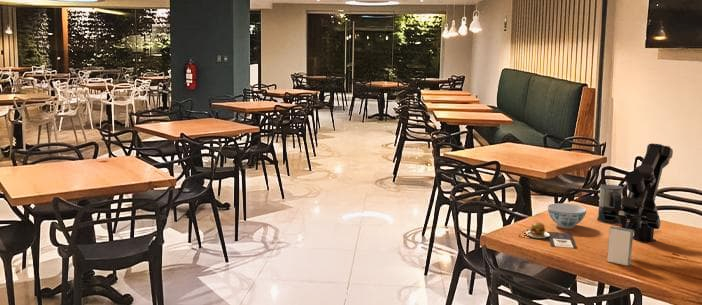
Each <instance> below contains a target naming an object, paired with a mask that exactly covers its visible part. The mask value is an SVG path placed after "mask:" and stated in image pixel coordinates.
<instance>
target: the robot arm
mask: <svg viewBox="0 0 702 305" xmlns="http://www.w3.org/2000/svg"><path fill="white" fill-rule="evenodd" d="M673 152H674V150H673V148H671V146H669V145H663V144H662V143H661V144H660V143H648V145H647V146H646V152H645V156H644V157H643V158H642V162H641V164H639V165H638V166H635V168H633V170H632V171H629V172H628V173H626V175H625V177H624V178H625V184H626V188H627V191H629V192H628V194H627V196H623V195H622V201H621V211H619V212H616V211H615V207H609V206H604V207H602V210H601V213H602V217H603V219H604V220H607V221H614V220H615V219H616V217H617V218H618V222H619V223H618V225H620V226H621V228H626V229H631V230H634V231H633V239H634V240H636V241H638V242H640V243H650V242H656V241H657V239H656V238H654V234H655V230H659V229H660V227H661V218H660V215H659V211H658V208H657V205H656V202H655V200H656V196H657V193H658V189H659V186H660V181H661V176H662V172H663V169H665V167H666V166H668V165H669V164H670V161H671V160H670V159H672V158H673ZM628 219H629V220H630V221H629V222H628V221H627V220H628Z"/></svg>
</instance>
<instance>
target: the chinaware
mask: <svg viewBox="0 0 702 305" xmlns="http://www.w3.org/2000/svg"><path fill="white" fill-rule="evenodd" d="M547 212H548V214H549V217H550V219H551V221H553V223H555V224H556V226H557V227H558V228H561V229H570V230H571V229H574V228H575V226H577V225H578V224H580V223H581V222H582V221H583V219H584V218H585V216H586V214H587V208H585V207H584V206H582V205H579V204H572V203H562V202H560V203H558V202H557V203H550V204H548V205H547Z"/></svg>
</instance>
